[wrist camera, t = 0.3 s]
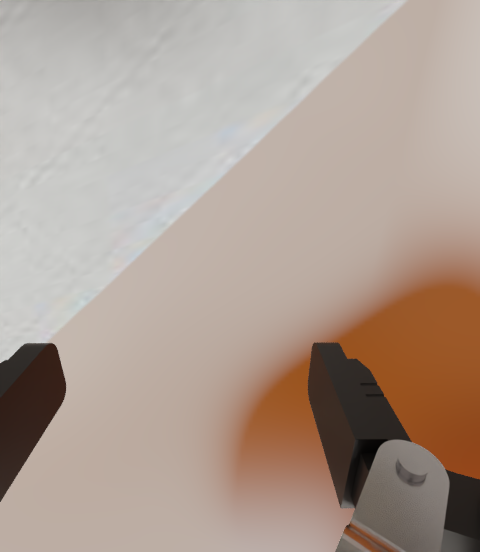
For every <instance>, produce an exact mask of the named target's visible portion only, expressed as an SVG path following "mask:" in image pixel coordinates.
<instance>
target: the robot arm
mask: <svg viewBox="0 0 480 552" xmlns="http://www.w3.org/2000/svg"><path fill="white" fill-rule="evenodd" d="M65 393H66V382H65V378H64V374H63V370H62V366H61V362H60V358H59V354H58V350H57V347H56V346H55V345H54V344H52V343H27V344H24V345H23V346H22V347H20V349H19V350H18V351H17V352H16V353H15V354H14V355H13V356H12V357H11V358H10V359H9V360H5V361H3V362H2V363H0V502H1V500H2V498H3V497H4V495H5V494H6V492H7V490H8V489H9V487H10V486H11V484H12V482H13V481H14V479H15V477H16V476H17V474H18V473H19V471H20V470H21V468H22V466H23V465H24V463H25V462H26V460H27V459H28V457H29V455H30V454H31V452H32V451H33V449H34V447H35V446H36V444H37V443H38V441H39V439H40V438H41V436H42V434H43V433H44V431H45V430H46V428H47V427H48V425H49V424H50V422H51V420H52V419H53V417H54V416H55V414H56V412H57V411H58V409H59V408H60V406H61V404H62V402H63V400H64V397H65ZM308 395H309V401H310V404H311V408H312V411H313V415H314V418H315V422H316V425H317V429H318V432H319V435H320V439H321V442H322V446H323V449H324V452H325V456H326V459H327V463H328V466H329V470H330V473H331V477H332V480H333V483H334V486H335V490H336V493H337V497H338V500H339V504H340V507H341V508H355V511H354V513H353V516H352V519H351V521H350V524H349V525H347V526H346V527H345V529H344V532H343V534H342V536H341V539H340V541H339V544H338V546H337V549H336V552H480V480H479V479H475V478H472V477H468V476H464V475H461V474H457V473H454V472H451V471H448V470H446V469H444V467H443V465H442V464H441V463H440V462H439V460H438V459H437V458H436V457H435V456H433V455H432V454H431V453H430V452H429V451H427V450H426V449H424V448H423V447H421V446H419V445H417V444H414V443H412V441H411V440H410V438H409V436H408V435H407V433H406V431H405V430H404V428H403V426H402V425H401V423H400V421H399V419H398V418H397V416H396V415H395V413H394V411H393V409H392V408H391V406H390V404H389V402H388V401H387V399H386V397H384V394H383V392H382V391H381V389H380V387H379V386H378V385H377V382H376V380H375V378H374V377H373V375H372V373H371V371H370V370H369V369H368V368H367V367H365V366H364V365H363V364H362V363H361V362H360V361H358V360H357V359H347V358H346V356H345V354H344V352H343V350H342V348H341V346H340V344H339V343H314V344H313V346H312V352H311V361H310V369H309V378H308Z"/></svg>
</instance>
